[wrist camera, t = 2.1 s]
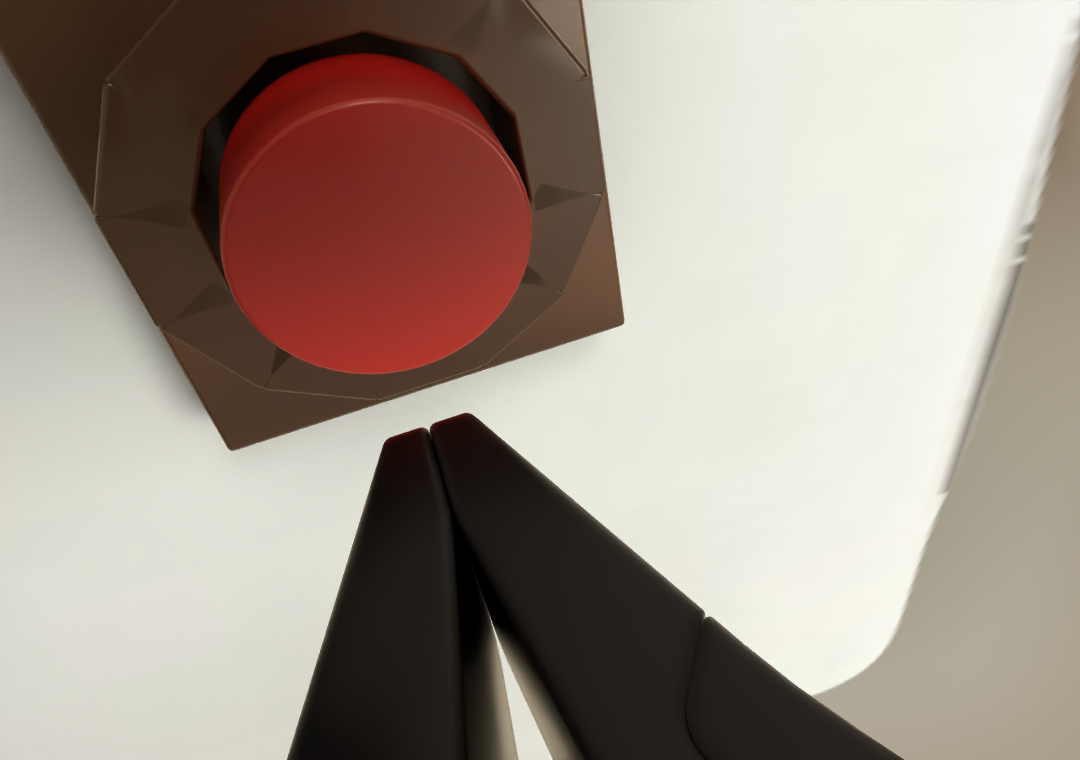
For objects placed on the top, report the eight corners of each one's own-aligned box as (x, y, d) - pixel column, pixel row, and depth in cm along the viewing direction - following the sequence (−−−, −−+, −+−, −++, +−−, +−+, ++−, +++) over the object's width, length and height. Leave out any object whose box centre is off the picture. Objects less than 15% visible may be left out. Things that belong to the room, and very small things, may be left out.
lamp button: (522, 266, 14) (555, 325, 13) (280, 342, 14) (288, 411, 12) (468, 16, 12) (502, 58, 10) (167, 98, 11) (161, 155, 10)
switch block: (605, 294, 18) (661, 380, 16) (228, 414, 17) (230, 523, 15) (518, -305, 12) (591, -302, 10) (-92, -162, 11) (-170, -121, 9)
